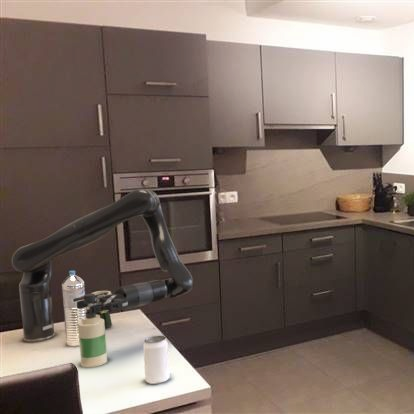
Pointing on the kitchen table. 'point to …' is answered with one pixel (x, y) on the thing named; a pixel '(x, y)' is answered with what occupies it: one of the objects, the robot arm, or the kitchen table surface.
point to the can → (156, 359)
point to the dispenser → (92, 340)
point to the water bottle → (73, 307)
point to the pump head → (87, 299)
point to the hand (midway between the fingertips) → (83, 307)
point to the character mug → (104, 314)
